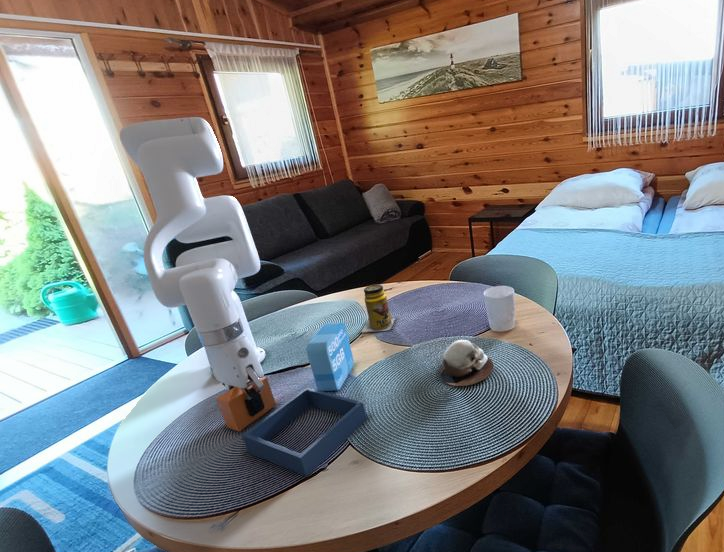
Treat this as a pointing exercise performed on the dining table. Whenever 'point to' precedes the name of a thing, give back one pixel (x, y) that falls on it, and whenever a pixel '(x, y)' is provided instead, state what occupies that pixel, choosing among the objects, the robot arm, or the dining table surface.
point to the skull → (465, 364)
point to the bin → (321, 447)
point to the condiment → (377, 309)
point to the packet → (243, 406)
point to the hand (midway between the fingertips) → (250, 409)
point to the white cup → (500, 307)
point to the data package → (330, 356)
